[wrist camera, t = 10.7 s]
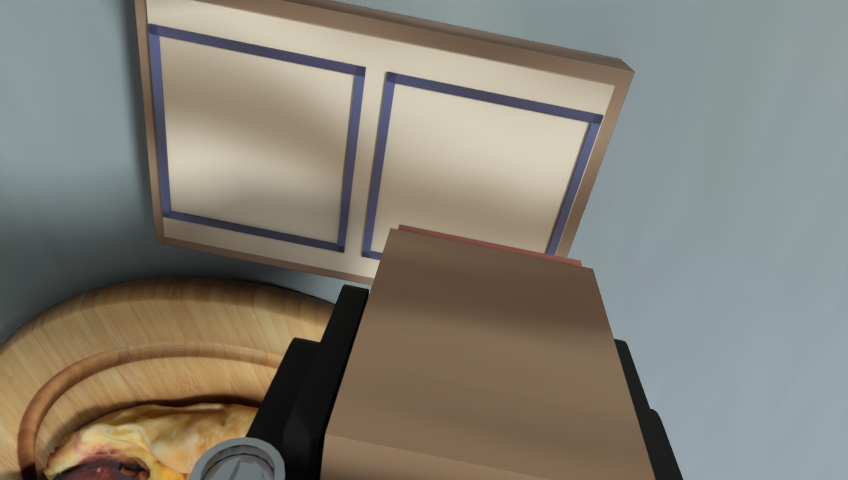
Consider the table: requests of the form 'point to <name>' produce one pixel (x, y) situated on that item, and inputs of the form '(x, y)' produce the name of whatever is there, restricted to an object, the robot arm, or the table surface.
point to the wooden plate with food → (143, 376)
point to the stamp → (482, 371)
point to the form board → (363, 131)
